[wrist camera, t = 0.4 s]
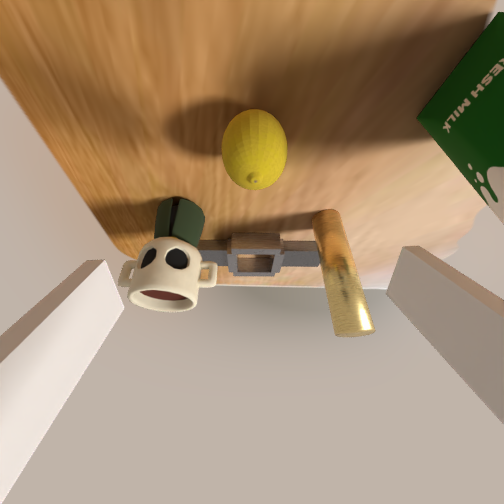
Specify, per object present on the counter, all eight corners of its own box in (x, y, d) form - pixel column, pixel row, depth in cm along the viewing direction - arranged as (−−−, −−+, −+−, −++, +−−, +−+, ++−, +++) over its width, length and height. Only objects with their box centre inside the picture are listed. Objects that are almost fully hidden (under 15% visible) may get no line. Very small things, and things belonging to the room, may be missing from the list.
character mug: (220, 193, 28) (210, 288, 21) (224, 229, 34) (217, 312, 27) (132, 191, 27) (91, 288, 20) (151, 227, 33) (125, 312, 26)
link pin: (315, 209, 30) (343, 328, 22) (344, 209, 31) (383, 328, 22) (308, 227, 34) (329, 337, 25) (334, 227, 34) (364, 337, 25)
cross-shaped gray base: (182, 232, 34) (178, 248, 33) (328, 234, 35) (332, 249, 34) (193, 261, 42) (190, 275, 40) (313, 262, 43) (315, 276, 41)
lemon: (241, 160, 24) (240, 215, 20) (212, 111, 20) (202, 167, 15) (290, 138, 22) (301, 194, 18) (269, 78, 18) (276, 132, 13)
